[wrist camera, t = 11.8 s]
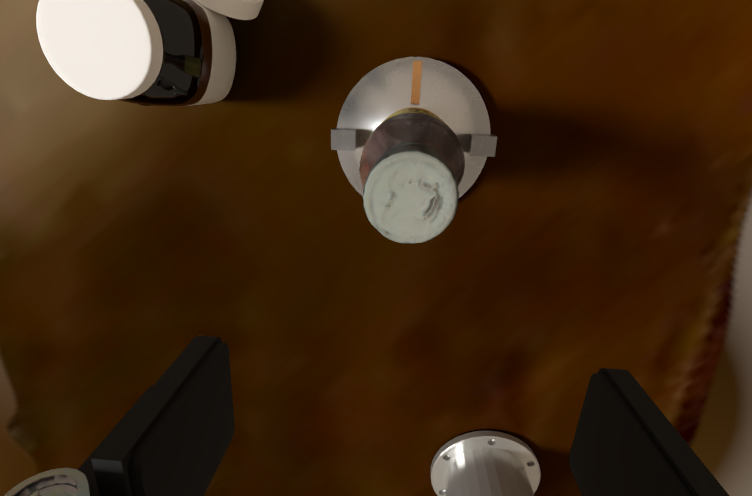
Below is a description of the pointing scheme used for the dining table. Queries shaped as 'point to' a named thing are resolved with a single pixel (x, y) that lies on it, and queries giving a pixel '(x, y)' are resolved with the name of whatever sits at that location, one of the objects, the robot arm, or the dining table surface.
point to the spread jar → (144, 47)
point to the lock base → (422, 90)
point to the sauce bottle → (411, 175)
